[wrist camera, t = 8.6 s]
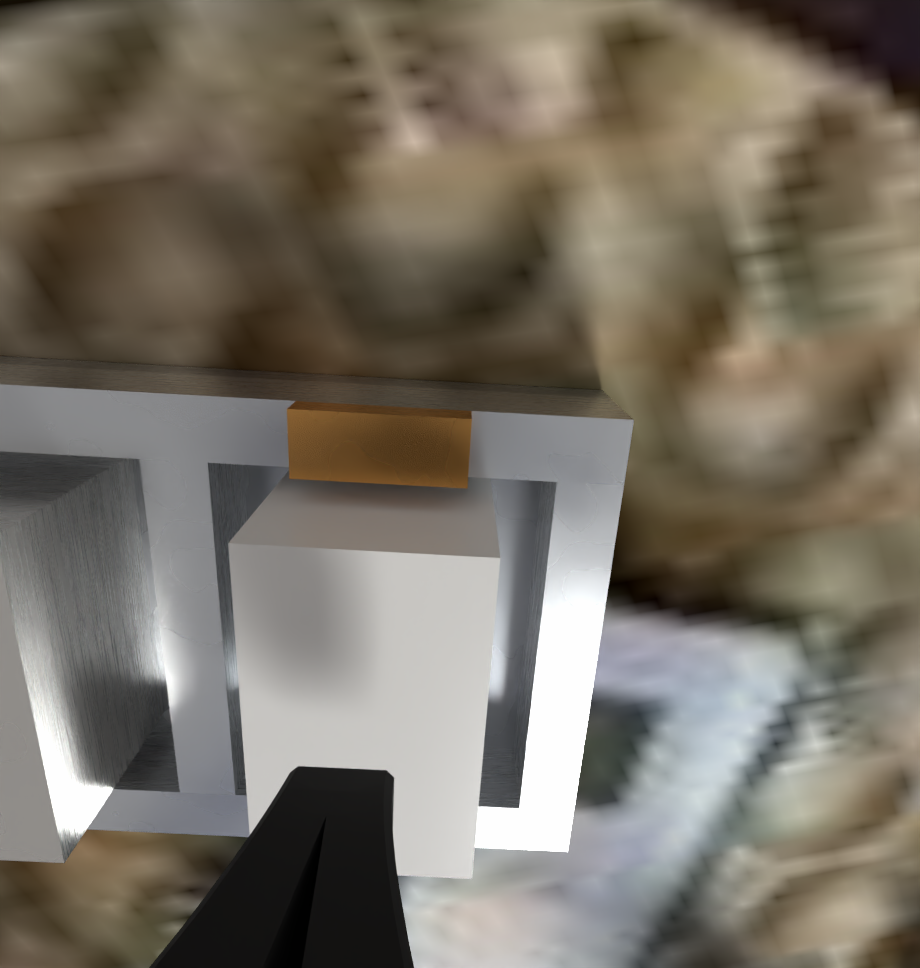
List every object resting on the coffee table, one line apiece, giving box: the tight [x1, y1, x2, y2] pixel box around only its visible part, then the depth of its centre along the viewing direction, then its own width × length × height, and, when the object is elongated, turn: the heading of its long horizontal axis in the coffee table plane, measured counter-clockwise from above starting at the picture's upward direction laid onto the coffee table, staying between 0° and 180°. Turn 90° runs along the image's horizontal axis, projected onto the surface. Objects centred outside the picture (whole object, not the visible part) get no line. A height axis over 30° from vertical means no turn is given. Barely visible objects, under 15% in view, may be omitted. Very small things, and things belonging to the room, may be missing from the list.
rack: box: [0, 356, 634, 863], centre depth 13 cm, size 10×16×5 cm, turn 87°
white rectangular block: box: [228, 471, 500, 879], centre depth 12 cm, size 6×4×4 cm, turn 177°
